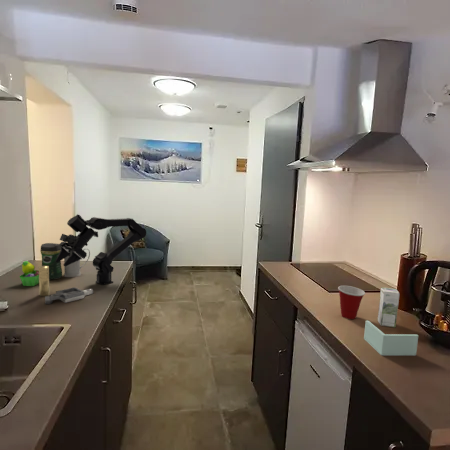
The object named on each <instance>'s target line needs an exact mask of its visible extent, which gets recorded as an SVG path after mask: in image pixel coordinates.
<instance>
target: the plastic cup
mask: <svg viewBox="0 0 450 450" xmlns="http://www.w3.org/2000/svg"><path fill="white" fill-rule="evenodd" d="M337 290H338V293H339V304H340V315H341V318H344V319H348V320H355V319H356V318H357V315H358V311H359V308H360V306H361V302H362V299H363V298H364V296H365V295H366V292H365V291H364V290H363V289H361V288H358V287H355V286H351V285H340V286H338V287H337Z"/></svg>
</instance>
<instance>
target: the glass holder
mask: <svg viewBox="0 0 450 450" xmlns="http://www.w3.org/2000/svg"><path fill="white" fill-rule="evenodd" d="M83 250H84V251H85V250H87V251H88V257H87V259H86V260H85V262H84V263H83V264H81V260H78V261H76V262H74V263H72V264H70V265H67V266H64V265H63V267H64V269H63V270H64V273H63V276H64V277H65V278H75V277H79V276H81V275H82V273H81V269H82V268H83V267H84V266H85V265H86V264H87V263H88V261H89V259H90V255H91V251H90V249H88V248H84V249H83ZM69 256H70V255H69ZM69 256H67V257H66V258H64V259H63V260H64V261H63V264H64V263H65V262H66V260H67V259H68V257H69Z"/></svg>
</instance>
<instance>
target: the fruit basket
mask: <svg viewBox="0 0 450 450" xmlns="http://www.w3.org/2000/svg"><path fill="white" fill-rule="evenodd" d="M35 268H36V267H35V265H34V264H32V263H31V262H30V261H28V260H26V261H25V260H24V261H23V262H22V264H21V271H22V272H23V274H21V275H19V278H20V280H21V284H22V286H23V287H24V286H25V287H35V286H37V285H39V269H38V270H35Z"/></svg>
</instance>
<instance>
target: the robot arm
mask: <svg viewBox="0 0 450 450" xmlns="http://www.w3.org/2000/svg"><path fill="white" fill-rule="evenodd" d="M66 224H67V225H68V226H69V227H70V228H71V229H72V230H73V231H74V232H76V233H78V232H79V233H78V235H74V234H68V235H66V234H65V233H61V235H60V237H59V241H61V242H60V243H58V244H59V245H60V246H59V247H60V253H59V255H58V257H57V259H56V261H55V262H57V263H58V262H59V261H62V260H64V258H66V257H67V256H69V255H70V256H69V257H68V259H67V260H66V262H65V263H64V262H63V267H64V266H67V265H70V264H72V263H74V262H76V261H78V260H80V261H81V260H84V259H86V257H87V256H88V255H87V254H88V253H87V252H86V251H85V250H84V249H83V248H84V247H87V246H88V245H89V242H90V240H92V239H93V237H96V238H99V232H98V231H100V230H105V229H107V228H112V227H113V228H114V227H127V229H128V230H129V232H128V234H127V236H126V237H124V238H123V239H122V240H120V241H119V242H118V243H117V244H116V245H114V246H113V247H112V248H110V249H108V251H106V252H102V251H100V252H99V253H98V254H97V255H95V256H94V258H93V260H92V265H93V267H94V268H95V270H96V273H97V274H96V280H95V283H97V284H99V285H101V286H103V285H107V284H111V283H114V281H113V280H112V272H113V271H114V267H113V266H112V263H113V260H115V258H116V257H118V256H119V255H120V254H121V253H123V252H124V251H125V250H126V249H127V248H129V247H130V246H131V245H132V244H133V243H135V242H138V241H140V240H142V239H145V238H146V236H147V229H146V228H144V227H142V226H141V225H140V224H139V223H138V222H137V221H136V220H134V218H130V217H126V218H102V217H95V216H94V217H93V216H92V217H91V218H89V219H88V220H85V219H84V218H83V217H82V216H81V215H80V214H79V213H77V214H76V215H74V216H72V217H70V219H69V220H68V221H67V223H66ZM89 227H90V228H89ZM95 230H98V231H95Z"/></svg>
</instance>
